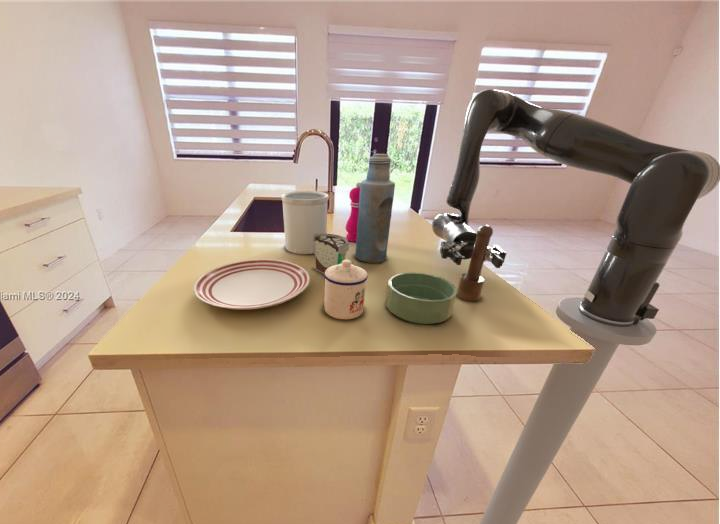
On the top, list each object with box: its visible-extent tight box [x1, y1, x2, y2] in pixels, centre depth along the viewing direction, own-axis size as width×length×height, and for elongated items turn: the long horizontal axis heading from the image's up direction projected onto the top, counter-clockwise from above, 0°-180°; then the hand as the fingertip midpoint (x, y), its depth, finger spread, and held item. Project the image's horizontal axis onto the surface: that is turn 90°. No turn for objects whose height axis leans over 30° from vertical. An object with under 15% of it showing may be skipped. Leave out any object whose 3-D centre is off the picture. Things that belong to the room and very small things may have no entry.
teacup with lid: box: [323, 259, 368, 320], centre depth 68 cm, size 12×9×12 cm
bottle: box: [355, 153, 396, 264], centre depth 92 cm, size 10×10×30 cm
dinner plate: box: [193, 258, 311, 310], centre depth 77 cm, size 27×27×3 cm
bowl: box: [385, 272, 458, 325], centre depth 69 cm, size 14×14×6 cm
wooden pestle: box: [456, 224, 494, 302], centre depth 73 cm, size 5×5×18 cm
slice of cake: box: [313, 233, 350, 275], centre depth 86 cm, size 12×6×10 cm, turn 35°
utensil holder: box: [281, 190, 330, 255], centre depth 102 cm, size 15×15×18 cm
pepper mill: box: [345, 182, 361, 243], centre depth 111 cm, size 7×7×20 cm
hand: (479, 262), depth 71 cm, fingers open, 8 cm apart
